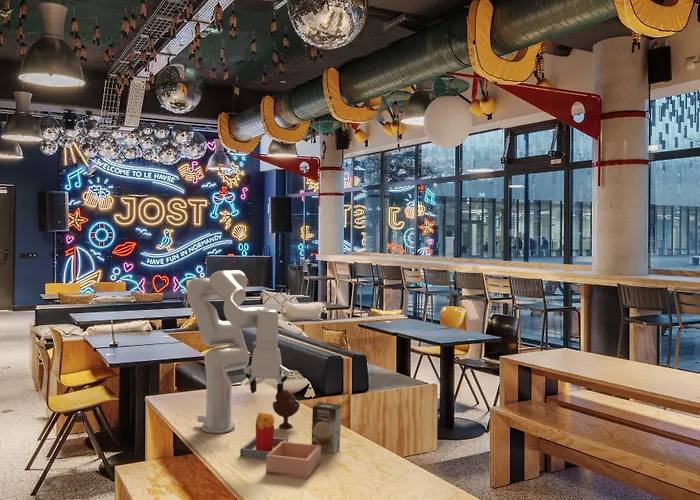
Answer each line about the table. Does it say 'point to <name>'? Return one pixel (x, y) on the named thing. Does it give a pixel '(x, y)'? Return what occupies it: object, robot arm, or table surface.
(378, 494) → the table surface
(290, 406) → the ice cream bowl
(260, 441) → the french fries
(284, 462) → the pink open box
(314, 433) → the coffee box
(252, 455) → the gray rectangular frame
